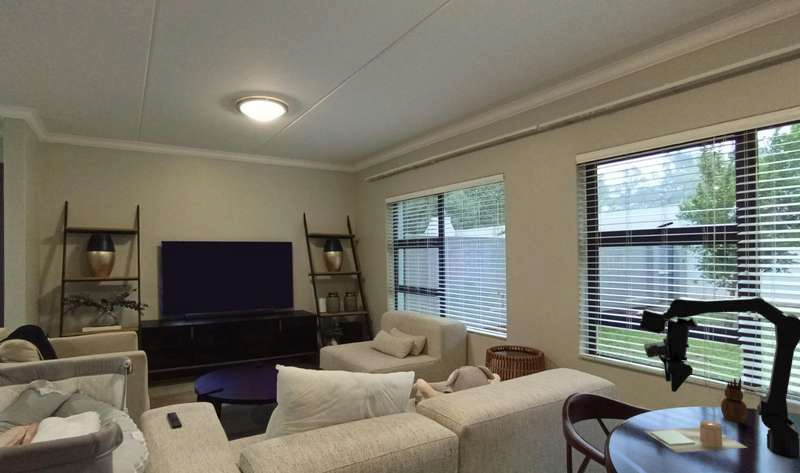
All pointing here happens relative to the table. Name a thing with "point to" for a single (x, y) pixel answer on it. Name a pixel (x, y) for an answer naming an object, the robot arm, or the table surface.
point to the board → (698, 441)
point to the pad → (672, 438)
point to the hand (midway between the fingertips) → (670, 386)
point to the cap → (711, 432)
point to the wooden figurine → (734, 403)
